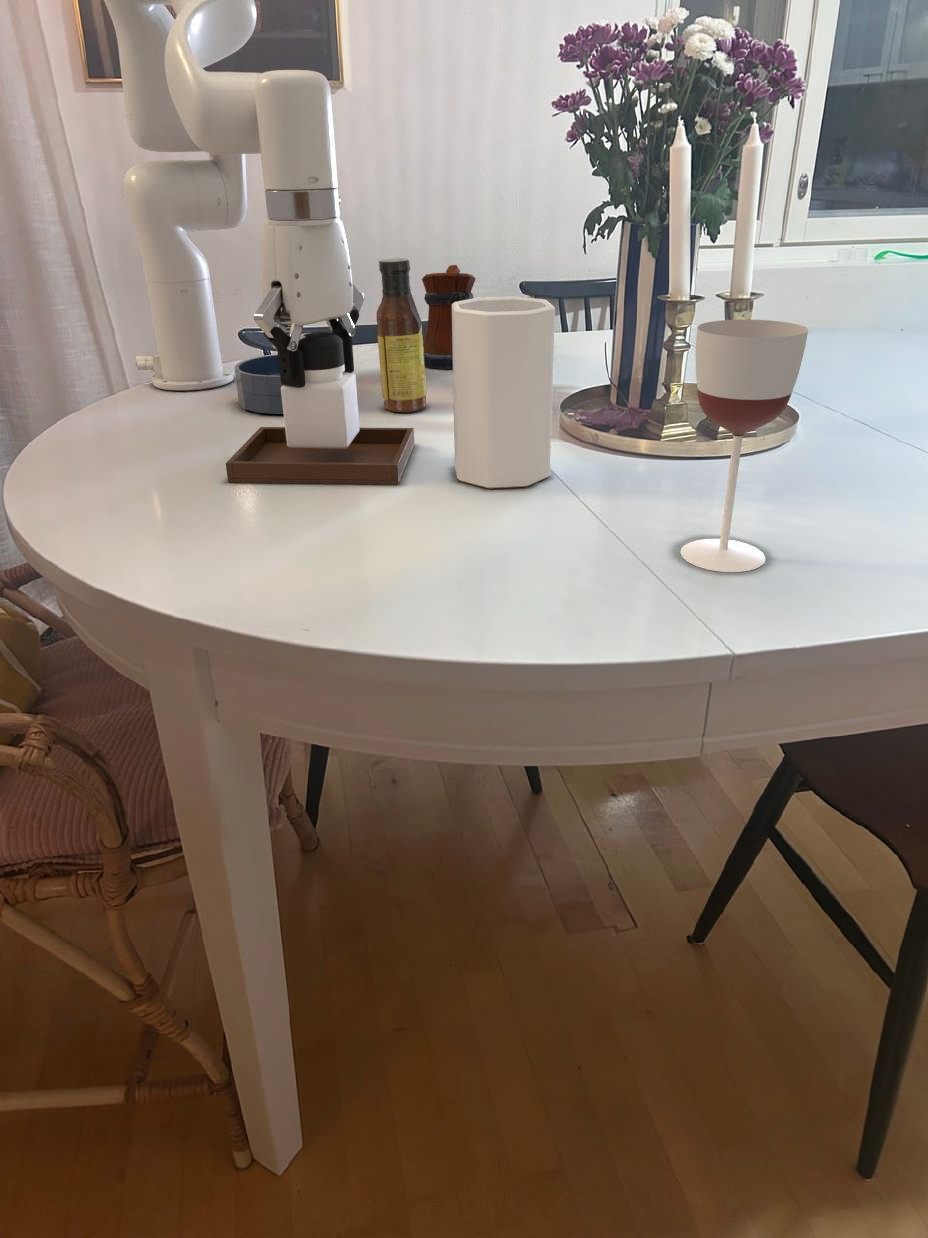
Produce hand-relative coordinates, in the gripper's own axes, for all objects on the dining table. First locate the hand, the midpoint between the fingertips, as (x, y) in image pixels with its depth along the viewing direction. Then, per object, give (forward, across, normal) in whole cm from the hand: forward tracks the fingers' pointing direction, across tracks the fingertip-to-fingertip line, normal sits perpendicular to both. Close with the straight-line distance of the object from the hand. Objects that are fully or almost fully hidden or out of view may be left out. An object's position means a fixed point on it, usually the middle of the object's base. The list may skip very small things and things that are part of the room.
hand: (318, 377), depth 103 cm
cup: (+10, -8, +20) cm, 24 cm away
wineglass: (+10, +1, +49) cm, 50 cm away
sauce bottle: (+10, -25, -7) cm, 28 cm away
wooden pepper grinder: (+10, -55, -20) cm, 60 cm away
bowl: (+10, -19, -24) cm, 32 cm away
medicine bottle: (+7, 0, 0) cm, 7 cm away
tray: (+10, 0, 0) cm, 10 cm away
